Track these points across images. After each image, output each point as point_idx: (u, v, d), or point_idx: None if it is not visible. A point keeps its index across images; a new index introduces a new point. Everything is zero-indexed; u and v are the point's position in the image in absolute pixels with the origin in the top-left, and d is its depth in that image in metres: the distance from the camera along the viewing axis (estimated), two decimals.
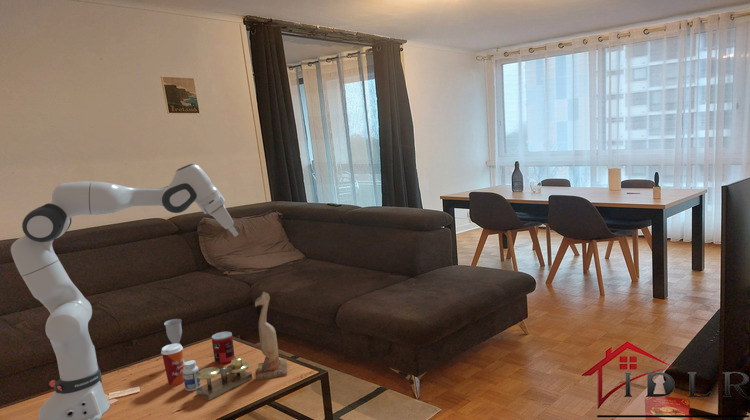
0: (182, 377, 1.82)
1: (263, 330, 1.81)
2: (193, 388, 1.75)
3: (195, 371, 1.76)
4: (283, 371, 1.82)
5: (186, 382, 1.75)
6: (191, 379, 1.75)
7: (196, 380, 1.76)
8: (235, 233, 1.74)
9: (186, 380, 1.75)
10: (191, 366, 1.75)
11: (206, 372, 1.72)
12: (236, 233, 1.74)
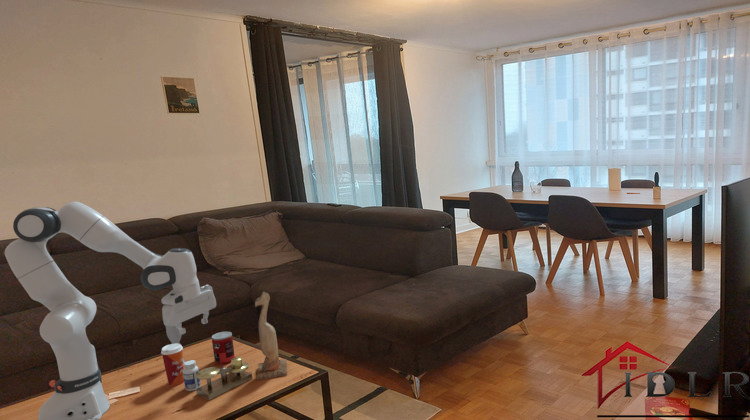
0: (182, 377, 1.82)
1: (263, 330, 1.81)
2: (193, 388, 1.75)
3: (195, 371, 1.76)
4: (283, 371, 1.82)
5: (186, 382, 1.75)
6: (191, 379, 1.75)
7: (196, 380, 1.76)
8: (180, 331, 1.72)
9: (186, 380, 1.75)
10: (191, 366, 1.75)
11: (206, 372, 1.72)
12: (181, 332, 1.72)
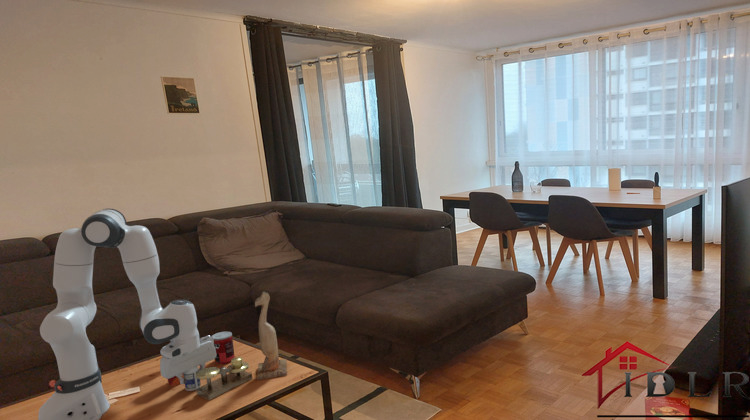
0: (182, 377, 1.82)
1: (263, 330, 1.81)
2: (193, 388, 1.75)
3: (195, 371, 1.76)
4: (283, 371, 1.82)
5: (186, 382, 1.75)
6: (191, 379, 1.75)
7: (196, 380, 1.76)
8: (181, 381, 1.74)
9: (186, 380, 1.75)
10: None
11: (206, 372, 1.72)
12: (181, 382, 1.74)
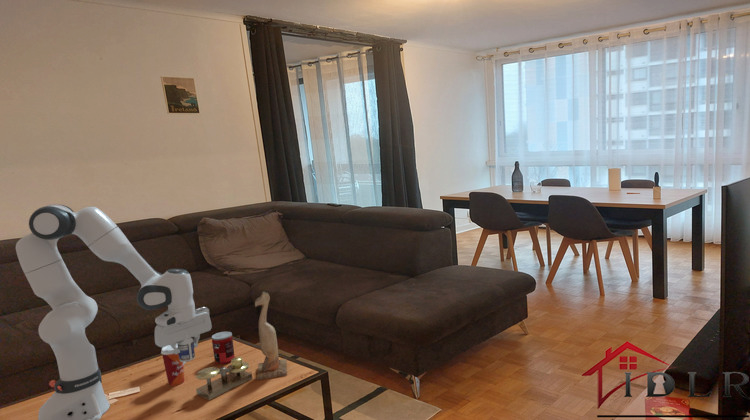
0: (182, 377, 1.82)
1: (263, 330, 1.81)
2: (187, 359, 1.74)
3: (190, 342, 1.74)
4: (283, 371, 1.82)
5: (180, 353, 1.73)
6: (185, 350, 1.73)
7: (190, 352, 1.74)
8: (175, 351, 1.73)
9: (180, 351, 1.73)
10: (185, 337, 1.73)
11: (206, 372, 1.72)
12: (175, 352, 1.72)
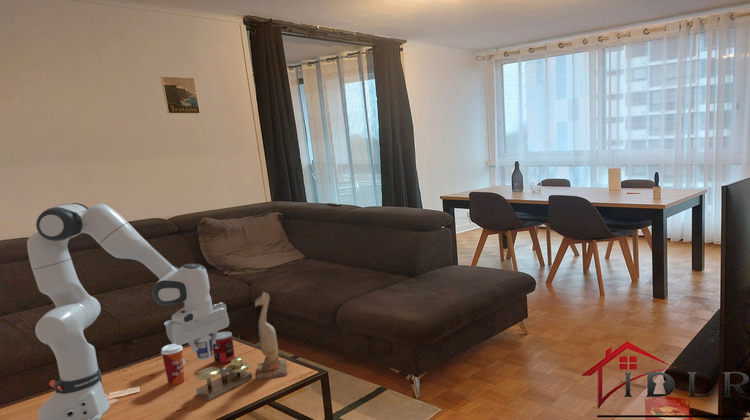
0: (182, 377, 1.82)
1: (263, 330, 1.81)
2: (206, 357, 1.68)
3: (208, 339, 1.68)
4: (283, 371, 1.82)
5: (198, 351, 1.68)
6: (203, 347, 1.67)
7: (209, 349, 1.69)
8: (193, 349, 1.67)
9: None
10: (203, 334, 1.68)
11: (206, 372, 1.72)
12: (193, 350, 1.67)
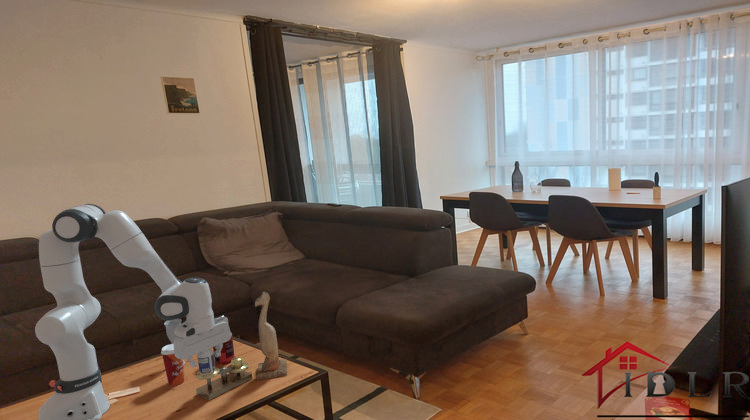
0: (182, 377, 1.82)
1: (263, 330, 1.81)
2: (208, 372, 1.69)
3: (210, 355, 1.69)
4: (283, 371, 1.82)
5: (201, 366, 1.68)
6: (205, 363, 1.68)
7: (211, 364, 1.69)
8: (191, 364, 1.66)
9: (201, 364, 1.68)
10: (205, 349, 1.68)
11: None
12: (192, 365, 1.66)
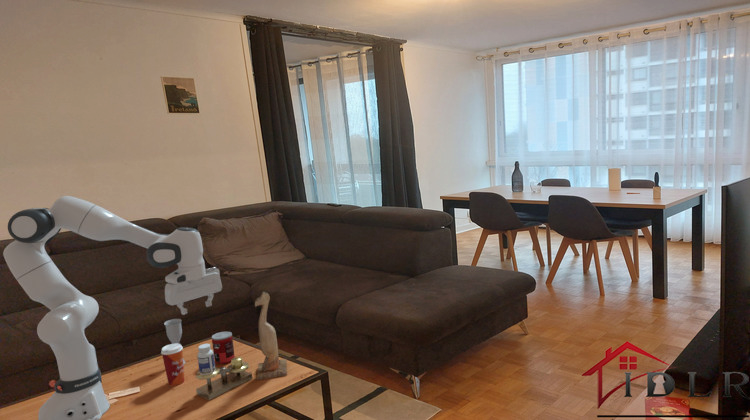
0: (182, 377, 1.82)
1: (263, 330, 1.81)
2: (208, 372, 1.69)
3: (210, 355, 1.69)
4: (283, 371, 1.82)
5: (201, 366, 1.68)
6: (206, 363, 1.68)
7: (211, 364, 1.69)
8: (182, 312, 1.70)
9: (201, 364, 1.68)
10: (205, 349, 1.68)
11: None
12: (182, 312, 1.70)
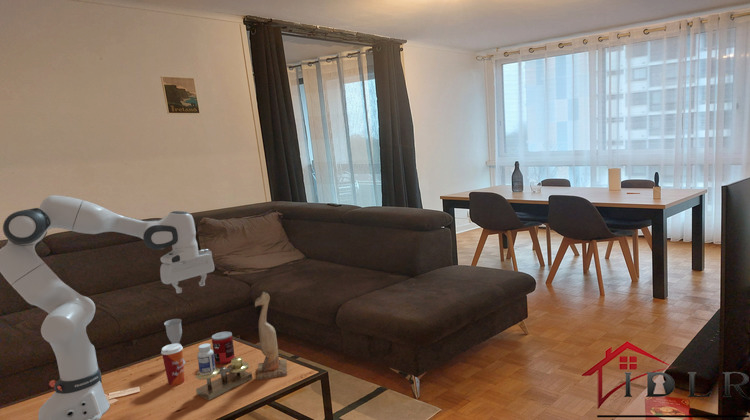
0: (182, 377, 1.82)
1: (263, 330, 1.81)
2: (208, 372, 1.69)
3: (210, 354, 1.69)
4: (283, 371, 1.81)
5: (201, 366, 1.68)
6: (206, 362, 1.68)
7: (211, 364, 1.69)
8: (177, 290, 1.80)
9: (201, 364, 1.68)
10: (206, 349, 1.69)
11: None
12: (177, 291, 1.79)
